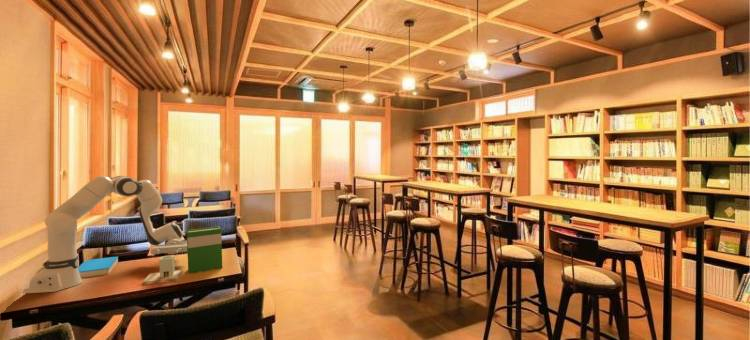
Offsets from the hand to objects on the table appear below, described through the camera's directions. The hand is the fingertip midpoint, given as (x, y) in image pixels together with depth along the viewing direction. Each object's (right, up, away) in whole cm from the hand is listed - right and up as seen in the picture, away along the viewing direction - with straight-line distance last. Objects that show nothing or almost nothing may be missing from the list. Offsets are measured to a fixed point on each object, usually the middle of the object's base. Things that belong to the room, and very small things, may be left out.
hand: (168, 252), depth 199 cm
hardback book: (+21, -11, +3) cm, 24 cm away
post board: (+5, -12, -12) cm, 17 cm away
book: (-45, -12, +3) cm, 46 cm away
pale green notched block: (+6, -10, -11) cm, 16 cm away
